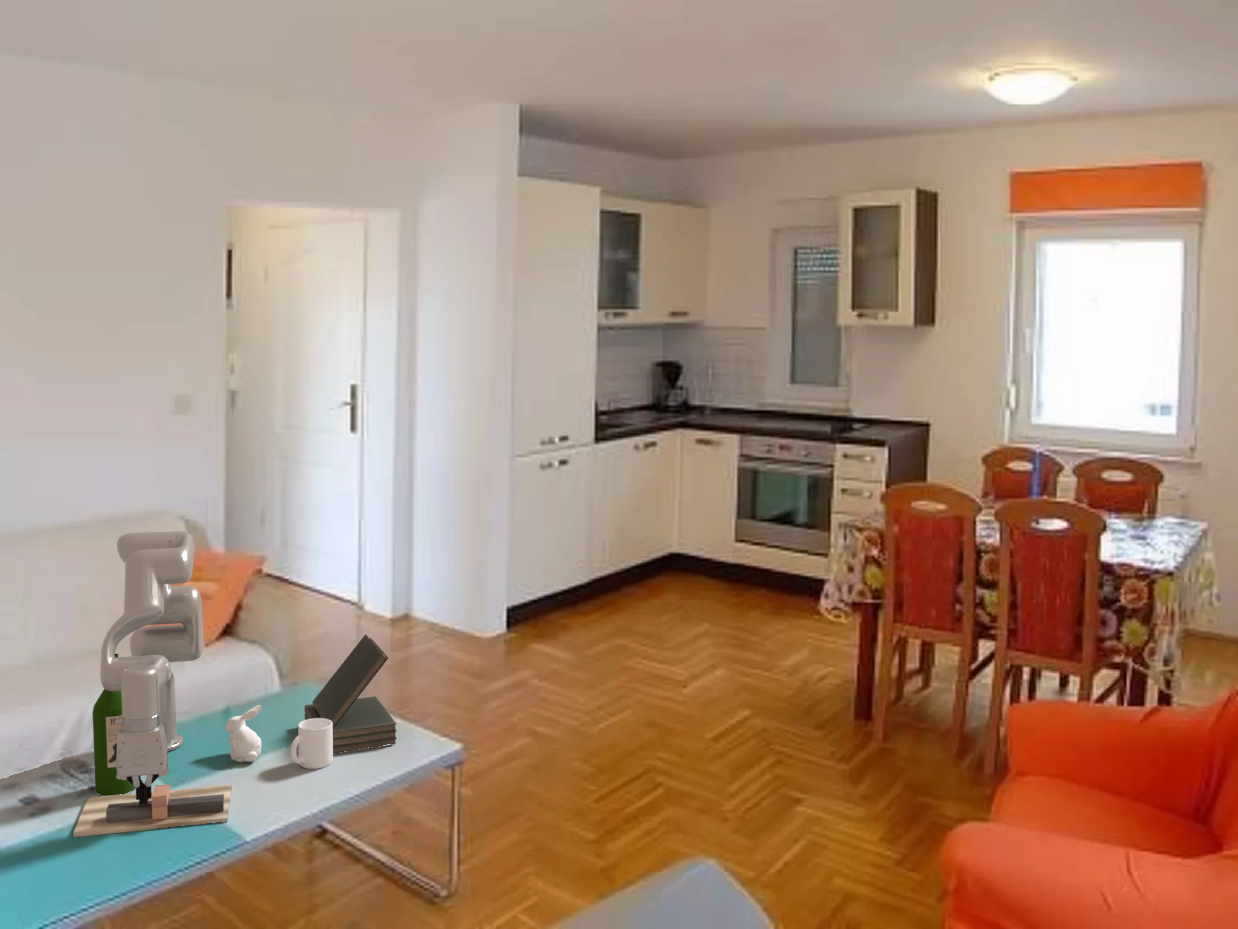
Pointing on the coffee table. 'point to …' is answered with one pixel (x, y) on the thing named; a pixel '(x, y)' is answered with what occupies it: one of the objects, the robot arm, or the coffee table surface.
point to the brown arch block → (160, 801)
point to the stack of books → (355, 702)
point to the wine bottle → (108, 744)
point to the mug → (314, 743)
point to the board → (102, 802)
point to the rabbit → (244, 737)
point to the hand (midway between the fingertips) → (144, 801)
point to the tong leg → (168, 800)
